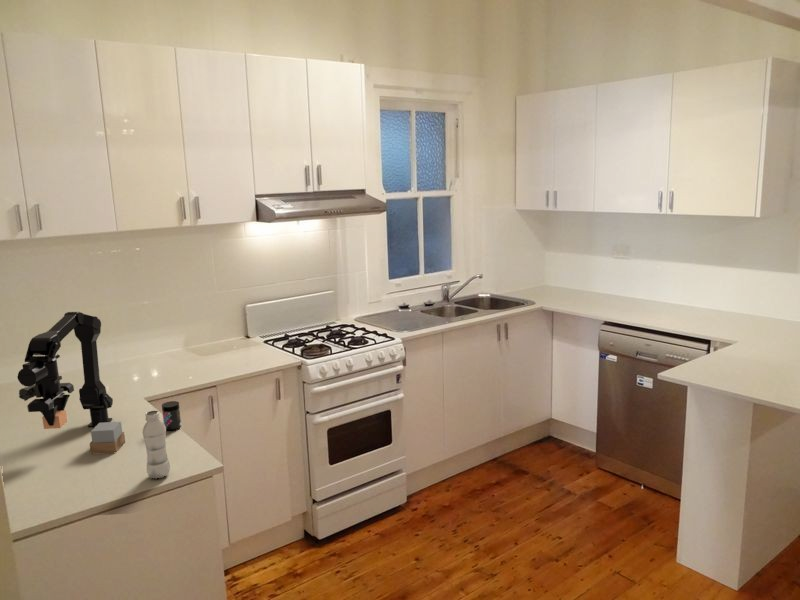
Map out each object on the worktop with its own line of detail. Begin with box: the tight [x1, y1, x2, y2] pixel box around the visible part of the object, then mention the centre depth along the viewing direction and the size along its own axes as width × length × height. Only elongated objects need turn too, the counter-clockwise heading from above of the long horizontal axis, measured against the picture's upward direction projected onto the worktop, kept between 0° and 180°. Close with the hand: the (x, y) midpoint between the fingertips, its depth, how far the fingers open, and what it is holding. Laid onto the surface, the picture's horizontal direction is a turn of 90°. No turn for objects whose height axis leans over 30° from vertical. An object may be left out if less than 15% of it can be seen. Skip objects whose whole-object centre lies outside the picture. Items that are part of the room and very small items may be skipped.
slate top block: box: [90, 421, 123, 443], centre depth 207 cm, size 7×7×4 cm
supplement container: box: [161, 400, 182, 432], centre depth 222 cm, size 6×6×9 cm
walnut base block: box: [89, 431, 126, 455], centre depth 208 cm, size 8×8×4 cm
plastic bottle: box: [142, 410, 171, 480], centre depth 186 cm, size 6×7×20 cm
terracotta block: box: [41, 409, 68, 430], centre depth 202 cm, size 5×5×4 cm
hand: (55, 422), depth 202 cm, fingers closed on terracotta block, 5 cm apart
